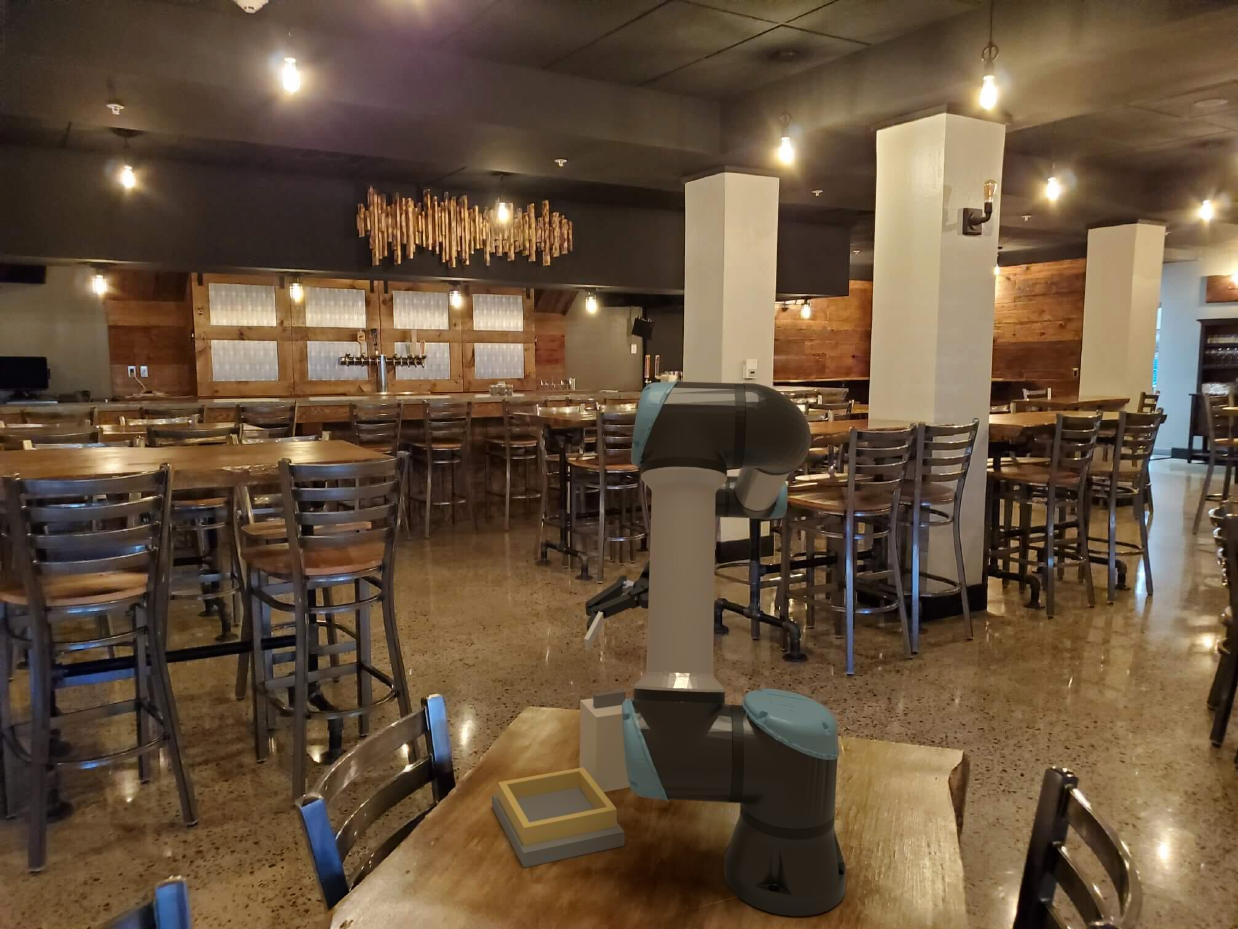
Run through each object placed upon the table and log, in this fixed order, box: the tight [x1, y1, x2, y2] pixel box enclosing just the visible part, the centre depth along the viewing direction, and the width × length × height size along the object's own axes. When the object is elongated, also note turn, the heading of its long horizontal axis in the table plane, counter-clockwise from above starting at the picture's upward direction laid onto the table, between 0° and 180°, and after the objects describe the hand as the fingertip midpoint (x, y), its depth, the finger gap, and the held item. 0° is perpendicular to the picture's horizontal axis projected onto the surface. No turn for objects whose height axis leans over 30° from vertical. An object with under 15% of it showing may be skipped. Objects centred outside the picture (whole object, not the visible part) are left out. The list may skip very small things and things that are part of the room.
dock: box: [491, 767, 625, 869], centre depth 118 cm, size 16×14×4 cm
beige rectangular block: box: [578, 689, 630, 793], centre depth 132 cm, size 7×7×14 cm
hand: (625, 655), depth 136 cm, fingers open, 13 cm apart
